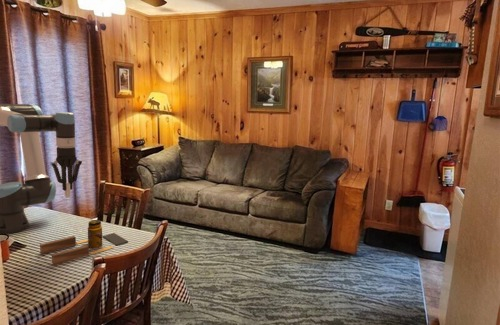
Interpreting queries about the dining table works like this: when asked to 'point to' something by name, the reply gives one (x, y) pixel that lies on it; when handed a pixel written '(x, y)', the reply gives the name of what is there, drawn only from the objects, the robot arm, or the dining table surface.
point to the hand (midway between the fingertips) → (67, 196)
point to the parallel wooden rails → (64, 255)
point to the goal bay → (97, 250)
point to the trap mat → (115, 239)
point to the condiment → (94, 235)
